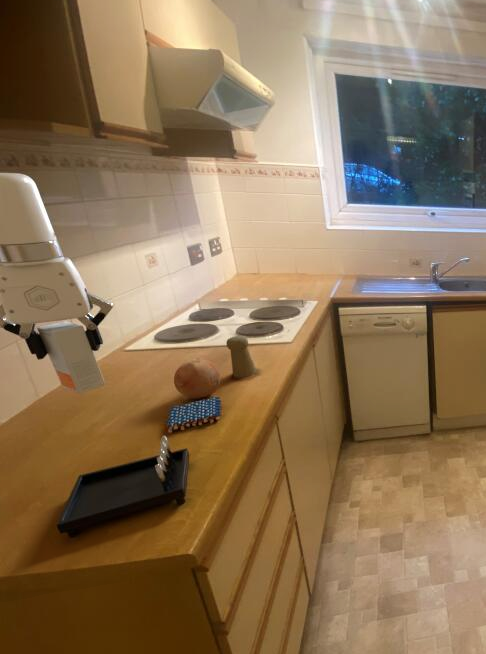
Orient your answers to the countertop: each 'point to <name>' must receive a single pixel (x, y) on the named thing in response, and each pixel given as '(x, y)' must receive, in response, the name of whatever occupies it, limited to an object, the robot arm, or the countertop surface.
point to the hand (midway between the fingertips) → (70, 351)
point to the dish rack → (126, 489)
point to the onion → (197, 378)
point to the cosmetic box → (72, 356)
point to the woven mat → (194, 413)
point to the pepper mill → (240, 357)
